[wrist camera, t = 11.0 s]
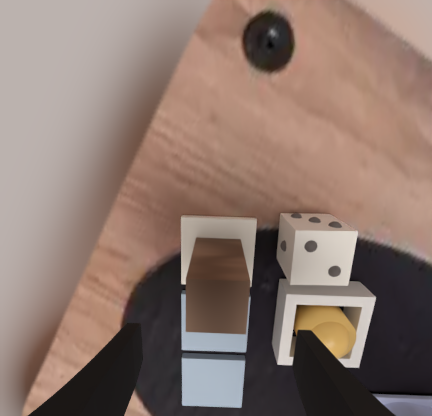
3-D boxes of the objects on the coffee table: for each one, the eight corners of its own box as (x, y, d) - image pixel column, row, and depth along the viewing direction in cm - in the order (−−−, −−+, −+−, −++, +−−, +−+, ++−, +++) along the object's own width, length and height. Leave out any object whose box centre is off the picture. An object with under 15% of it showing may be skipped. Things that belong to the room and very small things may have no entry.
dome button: (344, 296, 20) (371, 329, 17) (335, 337, 21) (359, 376, 18) (293, 294, 20) (310, 326, 17) (288, 336, 21) (302, 374, 18)
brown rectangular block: (240, 239, 19) (250, 281, 13) (237, 278, 20) (245, 334, 14) (196, 237, 19) (185, 278, 13) (195, 276, 20) (185, 331, 14)
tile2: (255, 217, 19) (256, 220, 18) (250, 282, 20) (251, 286, 20) (182, 215, 19) (180, 217, 18) (182, 280, 20) (181, 284, 20)
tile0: (244, 355, 22) (245, 360, 22) (240, 401, 24) (241, 407, 23) (182, 352, 22) (181, 358, 22) (183, 399, 24) (182, 405, 23)
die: (329, 209, 19) (361, 228, 14) (323, 258, 20) (350, 288, 16) (276, 209, 19) (292, 227, 15) (272, 257, 20) (287, 287, 16)
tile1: (249, 292, 21) (250, 296, 20) (245, 346, 22) (245, 352, 22) (182, 290, 21) (181, 294, 20) (182, 344, 22) (181, 349, 22)
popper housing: (359, 281, 20) (376, 297, 18) (345, 346, 22) (358, 367, 20) (279, 278, 20) (286, 294, 18) (271, 343, 22) (277, 364, 20)
